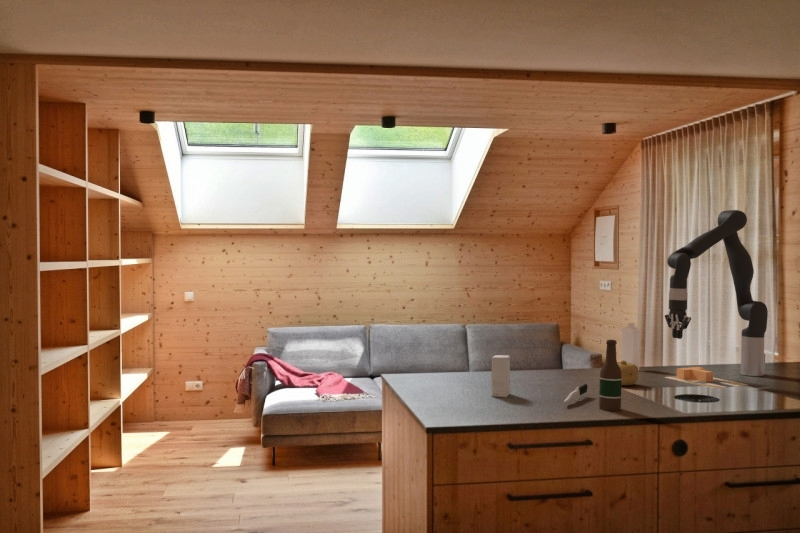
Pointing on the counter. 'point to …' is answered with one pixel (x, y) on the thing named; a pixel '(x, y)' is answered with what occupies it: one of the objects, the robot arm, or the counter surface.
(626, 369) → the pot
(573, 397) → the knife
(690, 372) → the t block
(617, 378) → the beer bottle
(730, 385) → the push board
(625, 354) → the milk
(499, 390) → the skincare box
